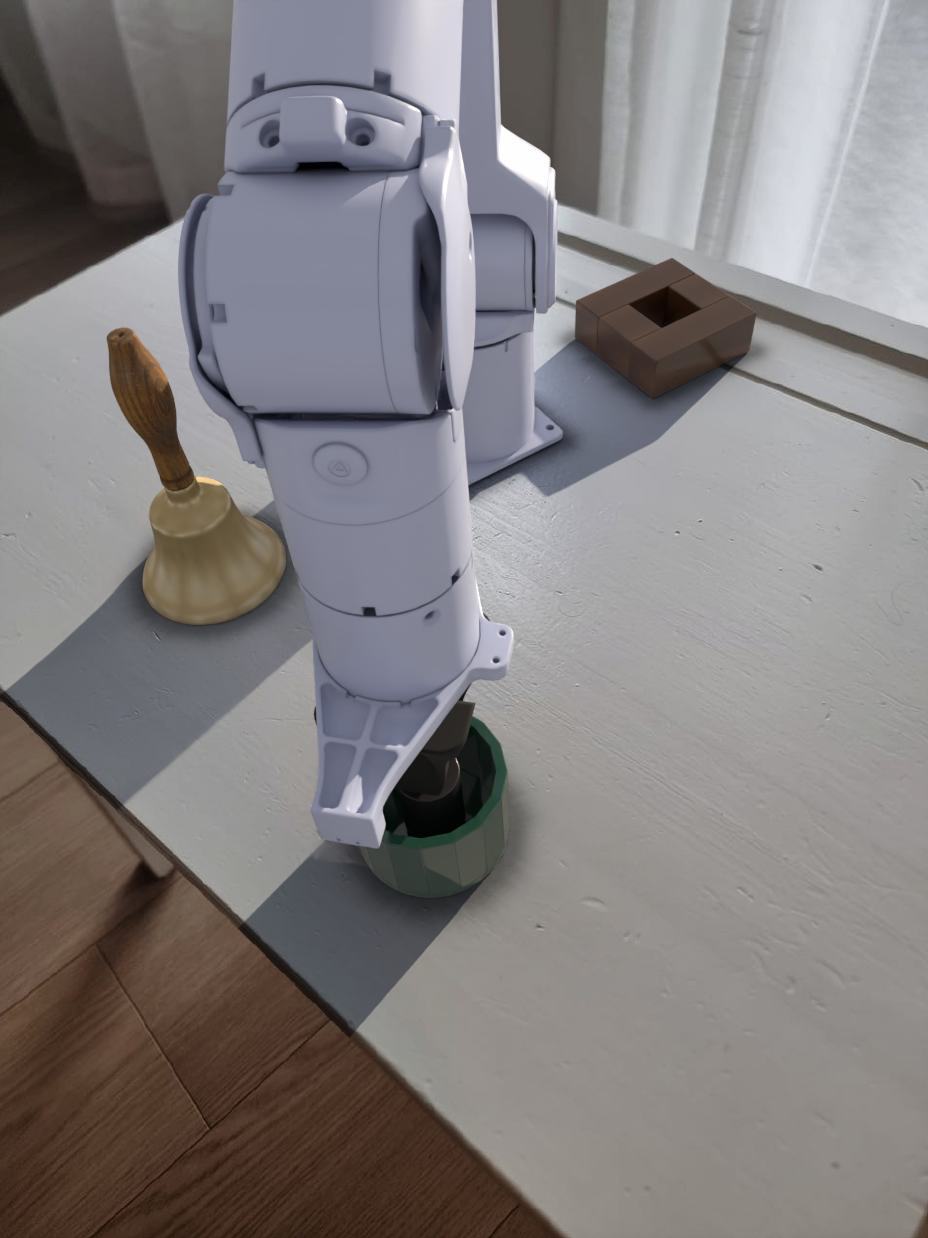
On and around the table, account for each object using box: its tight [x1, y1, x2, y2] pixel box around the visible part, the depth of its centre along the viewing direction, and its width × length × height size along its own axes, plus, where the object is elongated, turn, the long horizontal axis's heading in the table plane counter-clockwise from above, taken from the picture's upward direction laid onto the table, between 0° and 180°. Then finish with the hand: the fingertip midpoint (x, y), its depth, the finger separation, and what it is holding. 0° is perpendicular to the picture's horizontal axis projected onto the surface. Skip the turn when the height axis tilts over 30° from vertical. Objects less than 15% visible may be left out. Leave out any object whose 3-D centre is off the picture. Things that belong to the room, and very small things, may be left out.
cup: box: [358, 715, 511, 899], centre depth 44 cm, size 7×7×5 cm
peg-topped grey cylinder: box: [397, 758, 465, 839], centre depth 42 cm, size 3×3×8 cm
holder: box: [574, 257, 758, 400], centre depth 67 cm, size 8×8×3 cm
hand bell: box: [106, 327, 287, 626], centre depth 51 cm, size 8×8×16 cm
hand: (423, 767), depth 42 cm, fingers closed on peg-topped grey cylinder
